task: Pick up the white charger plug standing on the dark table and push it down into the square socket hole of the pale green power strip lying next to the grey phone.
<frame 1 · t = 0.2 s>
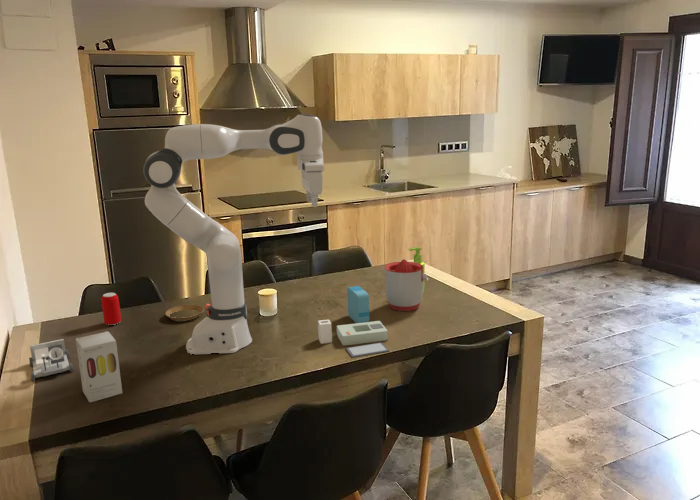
hand: (312, 204, 195), 47 cm above the table, tool pointing down, fingers open, 8 cm apart
socket strip: (362, 337, 201), on the table
supplement box: (102, 392, 167), on the table
plant saucer: (185, 317, 227), on the table
beverage can: (113, 324, 221), on the table
phone: (367, 352, 191), on the table
citrus juicer: (406, 307, 230), on the table
blue rounded block: (358, 320, 218), on the table
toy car: (52, 371, 183), on the table
soap dispenser: (416, 292, 248), on the table
charger plug: (325, 340, 199), on the table
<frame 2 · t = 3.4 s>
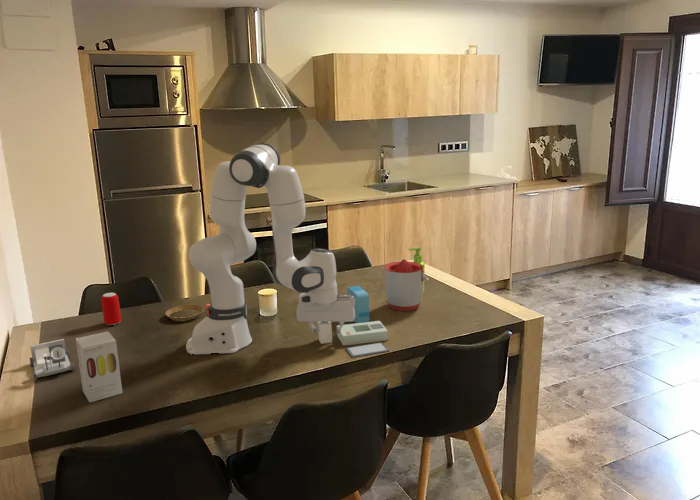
hand: (327, 332, 198), 3 cm above the table, tool pointing down, fingers open, 7 cm apart
nothing on the table moved.
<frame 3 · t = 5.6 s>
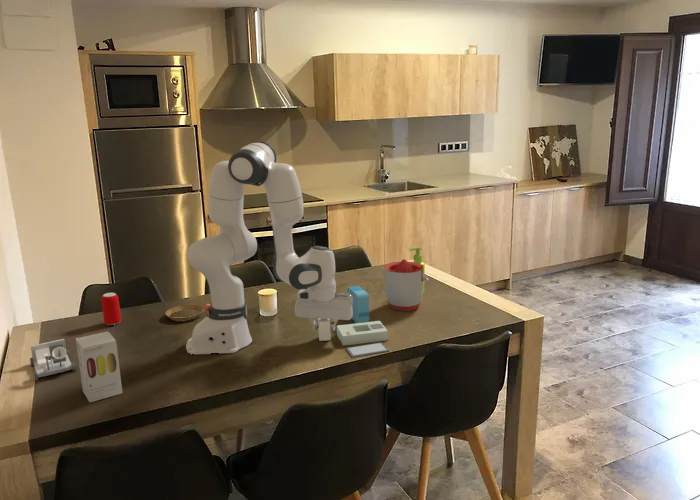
hand: (324, 329, 199), 4 cm above the table, tool pointing down, fingers closed on charger plug, 5 cm apart
charger plug: (324, 338, 201), on the table, touching gripper
everything else where it was.
when the fingers open (4 cm above the table, at t = 9.5 s): charger plug stays where it is, resting in socket strip.
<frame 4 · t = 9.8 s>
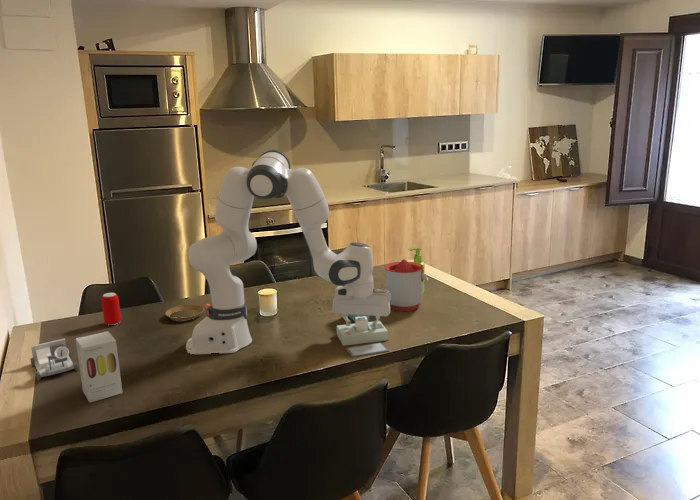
hand: (361, 326, 200), 4 cm above the table, tool pointing down, fingers open, 8 cm apart
charger plug: (361, 337, 202), resting in socket strip
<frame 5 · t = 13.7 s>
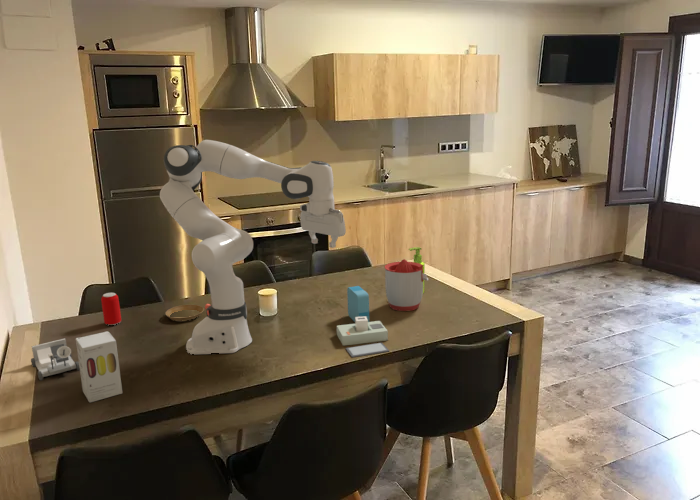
hand: (323, 245, 205), 31 cm above the table, tool pointing down, fingers open, 8 cm apart
at the end: charger plug 0.4 cm off-centre on the socket strip, point 0.0 cm above the socket strip's base; charger plug tilted 0°; the gripper is holding nothing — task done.
